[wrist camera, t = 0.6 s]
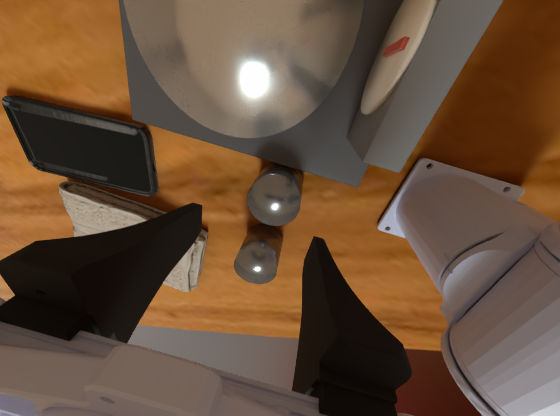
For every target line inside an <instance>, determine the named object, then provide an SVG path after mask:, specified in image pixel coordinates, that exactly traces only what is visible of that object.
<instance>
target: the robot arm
mask: <svg viewBox="0 0 560 416" xmlns="http://www.w3.org/2000/svg"><path fill="white" fill-rule="evenodd" d="M430 163H431V166H430V167H428V168H426V166H427V165H428V164H430ZM505 187H507V188H506V189H505V190H503V189H504V188H505ZM524 191H525V190H524V188H522V187H520V186H517V185H514V184H510V183H507V182H504V181H500V180H497V179H494V178H490V177H487V176H484V175H481V174H477V173H474V172H471V171H467V170H464V169H461V168H457V167H454V166H451V165H447V164H444V163H441V162H438V161H434V160H431V159H428V158H421V159H419V160H418V161H417V163H416V164H415V166H414V167H413V169H412V170H411V172H410V174H409V175H408V177H407V178H406V180H405V182H404V183H403V185H402V186H401V188H400V189H399V191H398V193H397V194H396V196H395V197H394V199H393V200H392V202H391V204H390V205H389V207H388V208H387V210H386V212H385V213H384V215H383V216H382V218H381V219H380V221H379V223H378V224H377V227H378V229H379V230H380V231H383V232H387V233H390V234H393V235H397V236H400V237H403V238H406V239H407V240H408V242H409V244H410V245H411V247H412V249H413V250H414V252H415V253H416V255H417V257H418V258H419V260H420V261H421V263H422V265H423V266H424V268H425V270H426V271H427V273H428V274H429V276H430V278H431V279H432V281H433V282H434V284H435V286H436V287H437V289H438V291H439V292H440V294H441V295H442V297H443V303H442V305H441V307H440V310H441V311H442V313H443V315H444V317H445V318H446V320H447V322H448V324H449V326H448V327H447V328H446V329H445V330H444V332H443V334H442V337H441V348H442V354H443V356H444V360H445V362H446V365H447V367H448V369H449V371H450V373H451V375H452V376H453V378H454V380H455V381H456V383H457V384H458V386H459V387H460V389H461V390H462V391H463V393H464V394H465V395H466V397H467V398H468V399H469V400H470V402H471V403H472V404H473V405H474V406H475V408H477V410H478V411H479V412H480V413H481V414H482V415H483V416H560V222H557V221H555V220H553V219H551V218H550V217H548V216H546V215H544V214H542V213H540V212H539V211H537V210H535V209H533V208H531V207H529V206H528V205H526V204H524V203H522V202H520V201H518V199H519V198H520V197H521V196H522V195H523V193H524ZM201 225H202V205H199V204H196V203H191V204H188V205H185V206H183V207H181V208H178V209H176V210H173V211H171V212H168V213H166V214H164V215H161V216H158V217H155V218H153V219H150V220H147V221H144V222H141V223H138V224H135V225H131V226H127V227H124V228H120V229H115V230H110V231H106V232H101V233H96V234H90V235H84V236H77V237H70V238H61V239H52V240H42V241H35V242H33V243H32V244H30V245H28V246H26V247H24V248H22V249H21V250H19V251H17V252H15V253H13V254H11V255H10V256H8V257H6V258H4V259H2V260H1V261H0V274H1V276H2V277H3V279H4V280H5V282H6V283H7V284H8V286H9V287H10V289H11V290H12V291H13V293H14V294H15V296H14V297H12V298H11V299H9V300H8V301H7V302H6V301H5V300H3V299H1V298H0V416H413V415H409V414H405V413H398V414H397V413H396V409H395V405H394V403H395V404H396V403H397V396H396V393H395V390H396V389H397V388H399V387H400V386H401V385H403V384H404V383H406V382H407V380H409V379H410V377H411V375H412V369H411V366H410V363H409V360H408V357H407V354H406V352H405V349H404V347H403V344H402V343H401V342H400V341H399V340H398V339H397V338H396V337H394V336H393V335H392V334H391V333H390V332H389V331H388V330H387V329H386V328H385V327H384V326H383V325H382V324H381V323H380V322H379V321H378V320H377V319H376V318H375V317H374V316H373V315H372V314H371V313H370V312H369V310H368V309H367V308H366V307H365V306H364V305H363V303H362V302H361V301H360V300H359V299H358V297H357V296H356V295H355V294H354V292H353V291H352V289H351V288H350V287H349V285H348V284H347V282H346V281H345V279H344V278H343V276H342V274H341V273H340V271H339V269H338V267H337V266H336V264H335V262H334V260H333V258H332V256H331V254H330V252H329V250H328V247H327V245H326V243H325V241H324V239H322V238H318V237H315V236H314V237H313V240H312V242H311V245H310V247H309V250H308V252H307V255H306V257H305V259H304V266H303V274H302V317H301V327H300V335H299V344H298V352H297V359H296V366H295V374H294V380H293V387H292V391H290V390H287V389H283V388H279V387H277V386H273V385H269V384H266V383H262V382H259V381H256V380H252V379H248V378H245V377H242V376H238V375H235V374H231V373H228V372H224V371H221V370H217V369H214V368H210V367H207V366H205V365H202V364H200V363H197V362H193V361H190V360H186V359H183V358H180V357H176V356H173V355H169V354H166V353H162V352H159V351H155V350H152V349H148V348H145V347H141V346H137V345H131V344H127V342H128V340H129V339H130V337H131V335H132V333H133V331H134V330H135V328H136V326H137V324H138V323H139V321H140V319H141V317H142V316H143V314H144V312H145V311H146V309H147V307H148V306H149V304H150V302H151V301H152V299H153V298H154V296H155V294H156V293H157V291H158V290H159V288H160V287H161V285H162V284H163V282H164V281H165V279H166V278H167V276H168V275H169V274H170V272H171V271H172V270H173V268H174V267H175V266H176V265H177V264H178V262H179V261H180V260H181V259H182V257H183V256H184V255H185V254H186V253H187V251H188V250H189V249H190V248H191V246H192V245H193V244H194V242H195V241H196V239H197V237H198V236H199V234H200V232H201ZM386 227H389V228H387V229H386Z"/></svg>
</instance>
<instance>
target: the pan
mask: <svg viewBox="0 0 560 416" xmlns="http://www.w3.org/2000/svg"><path fill="white" fill-rule="evenodd" d="M123 2H124V6H125V10H126V15H127V19H128V22H129V25H130V28H131V31H132V34H133V37H134V39H135V42H136V44H137V46H138V49H139V51H140V53H141V55H142V57H143V59H144V61H145V63H146V65H147V67H148V69H149V70H150V72H151V74H152V75H153V77H154V78H155V80H156V81H157V83H158V84H159V86H160V87H161V88H162V89H163V91H164V92H165V93H166V94H167V96H168V97H169V98H170V99H171V100H172V101H173V102H174V103H175V104H176V105H177V106H178V107H179V108H180V109H181V110H182V111H183V112H185V113H186V114H187V115H188V116H189V117H191V118H192V119H194V120H195V121H197V122H198V123H200V124H201V125H203V126H205V127H207V128H209V129H211V130H213V131H216V132H219V133H221V134H224V135H228V136H233V137H240V138H260V137H265V136H270V135H274V134H277V133H280V132H282V131H285V130H287V129H289V128H291V127H293V126H295V125H296V124H297V123H299V122H300V121H302V120H303V119H305V118H306V117H307V116H308V115H310V114H311V113H312V112H313V111H314V110H315V109H316V108H317V107H318V106H319V105H320V104H321V103H322V102H323V100H324V99H325V98H326V97H327V96H328V94H329V93H330V91H331V90H332V89H333V87H334V86H335V84H336V83H337V81H338V79H339V77H340V76H341V74H342V72H343V70H344V68H345V66H346V64H347V62H348V59H349V57H350V54H351V52H352V50H353V47H354V44H355V40H356V37H357V34H358V30H359V27H360V22H361V17H362V11H363V6H364V0H123Z"/></svg>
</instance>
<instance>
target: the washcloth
mask: <svg viewBox="0 0 560 416" xmlns="http://www.w3.org/2000/svg"><path fill="white" fill-rule="evenodd" d="M59 189H60V190H59V193H60V194H61V196H62V199H63V202H64V206H65V207H66V211H67V212H68V214H69V215H70V218H71V220H72V222H73V225H74V226H73V231H74V237H77V236H84V235H90V234H96V233H101V232H106V231H110V230H115V229H120V228H124V227H127V226H131V225H135V224H138V223H141V222H144V221H147V220H150V219H153V218H155V217H158V216H161V215H164V214H166V213H167V212H164V211H162V210H158V209H156V208H153V207H150V206H147V205H145V204H142V203H139V202H136V201H133V200H130V199H128V198H124V197H122V196H119V195H116V194H113V193H110V192H107V191H104V190H102V189H99V188H96V187H94V186H91V185H88V184H85V183H81V182H76V181H68V182H62V183H61V184H60V185H59ZM207 236H208V232H206V231H205V230H203V229H201V232H200V234H199V236H198V237H197V239H196V241H195V242H194V244H193V245H192V246H191V248H190V249H189V250H188V251H187V253H186V254H185V255H184V256H183V257H182V259H181V260H180V261H179V262H178V264H177V265H176V266H175V267H174V268H173V270H172V271H171V272H170V274H169V275H168V276H167V278H166V279H165V281H164V282H163V284H166V285H167V286H170V287H173V288H174V289H179V290H181V291H184V292H190V291H191V290H192V289H195V288H197V286H198V285H197V284H198V281H197V280H198V277H199V276H200V274H201V270H202V266H203V256H204V252H205V247H206V241H207Z"/></svg>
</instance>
